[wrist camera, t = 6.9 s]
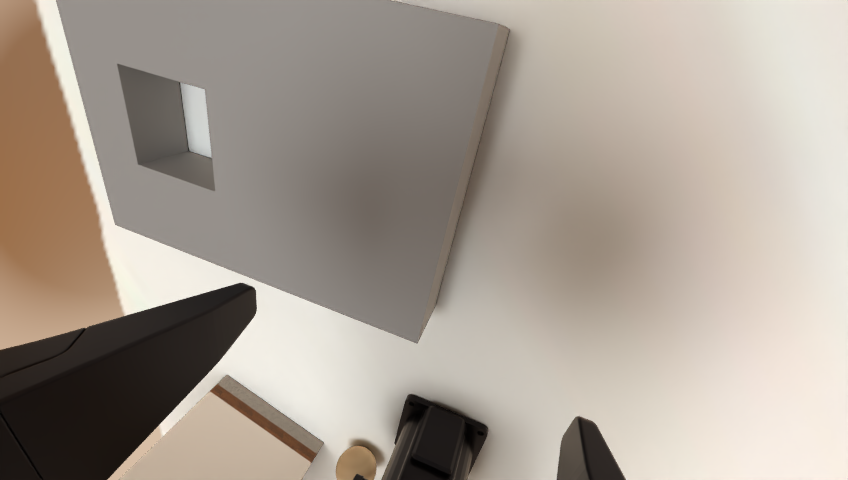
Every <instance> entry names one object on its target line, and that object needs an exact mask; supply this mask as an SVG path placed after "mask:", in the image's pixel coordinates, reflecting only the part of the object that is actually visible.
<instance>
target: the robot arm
mask: <svg viewBox="0 0 848 480" xmlns="http://www.w3.org/2000/svg"><path fill="white" fill-rule="evenodd" d="M256 310H257V304H256V290H255V288H254V287H252V286H249V285H247V284H244V283H238V284H234V285H231V286H228V287H224V288H221V289H217V290H214V291H210V292H207V293H203V294H200V295H196V296H193V297H189V298H186V299H182V300H179V301H176V302H172V303H169V304H165V305H162V306H158V307H155V308H151V309H148V310H144V311H141V312H137V313H134V314H130V315H127V316H123V317H120V318H117V319H113V320H110V321H106V322H103V323H99V324H96V325H92V326H89V327H87V328H81V329H78V330H75V331H71V332H68V333H65V334H61V335H57V336H53V337H50V338H46V339H42V340H39V341H35V342H31V343H27V344H23V345H19V346H14V347H10V348H6V349H3V350H0V480H107V479H108V478H109V477H110V476H111V475H112V474H113V473H114V472H115V471H116V470H117V468H119V467H120V466H121V464H122V463H123V462H124V461H125V460H126V459H127V458H128V457H129V456H130V455H131V454H132V453H133V452H134V451H135V450H136V449H137V448H138V446H139V445H140V444H141V443H142V442H143V441H144V440H145V439H146V438H147V437H148V436H149V435H150V434H151V433H152V432H153V431H154V429H156V428H157V427H158V426H159V424H160V423H161V422H162V421H163V420H164V419H165V418H166V417H167V416H168V415H169V414H170V413H171V412H172V411H173V410H174V409H175V408H176V407H177V405H178V404H179V403H180V402H181V401H182V400H183V399H184V398H185V397H186V396H187V395H188V394H189V393H190V392H191V391H192V390H193V389H194V388H195V386H196V385H197V384H198V383H199V382H200V381H201V380H202V379H203V378H204V377H205V376H206V375H207V374H208V373H209V372H210V371H211V370H212V369H213V367H214V366H215V365H216V364H217V363H218V362H219V361H220V360H221V358H222V357H223V356H224V355H225V354H226V352H227V351H228V350H229V348H230V347H231V346H232V345H233V343H234V342H235V341H236V339H237V338H238V337H239V336H240V334H241V333H242V332H243V330H244V329H245V328H246V327H247V325H248V324H249V323H250V321H251V320H252V319H253V317H254V316H255V314H256ZM487 434H488V428H487V427H486V426H485V425H483V424H481V423H478V422H476V421H474V420H471V419H469V418H466V417H464V416H462V415H459V414H457V413H455V412H452V411H450V410H447V409H445V408H443V407H440V406H438V405H436V404H433V403H431V402H428V401H426V400H424V399H421V398H419V397H417V396H414V395H408V396H407V398H406V401H405V404H404V408H403V412H402V416H401V419H400V423H399V427H398V431H397V435H396V439H395V445H396V446H395V448H394V451H393V453H392V455H391V458H390V460H389V463H388V465H387V468H386V470H385V472H384V475H383V477H382V480H467V478H468V475H469V473H470V471H471V469H472V467H473V465H474V463H475V460H476V458H477V456H478V454H479V452H480V450H481V448H482V446H483V444H484V441H485V439H486V437H487ZM353 480H368V479H365V478H364V476H362V475H360V474H356V475H355V477H354V478H353ZM557 480H626V479H625V477H624V475H623V473H622V472H621V470H620V468H619V466H618V464H617V462H616V460H615V459H614V457H613V455H612V453H611V451H610V449H609V447H608V446H607V444H606V442H605V440H604V438H603V436H602V434H601V433H600V431H599V429H598V427H597V425H596V424H595V423H594V422H592V421H590V420H588V419H585V418H583V417H580V416H577V417H575V418H574V420H573V421H572V423H571V424H570V426H569V428H568V429H567V431H566V432H565V434H564V435H563V438H562V441H561V447H560V456H559V464H558V473H557Z"/></svg>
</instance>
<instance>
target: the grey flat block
mask: <svg viewBox="0 0 848 480" xmlns="http://www.w3.org/2000/svg"><path fill="white" fill-rule="evenodd" d="M56 2H57V6H58V10H59V13H60V17H61V21H62V25H63V29H64V32H65V36H66V40H67V44H68V48H69V51H70V55H71V59H72V63H73V67H74V70H75V74H76V78H77V82H78V86H79V89H80V93H81V97H82V101H83V105H84V108H85V112H86V116H87V120H88V123H89V127H90V131H91V135H92V139H93V142H94V146H95V150H96V154H97V158H98V161H99V165H100V169H101V173H102V177H103V180H104V184H105V188H106V192H107V196H108V199H109V203H110V207H111V211H112V215H113V218H114V222H115V225H117V226H120V227H122V228H125V229H127V230H130V231H132V232H135V233H137V234H140V235H143V236H145V237H148V238H150V239H153V240H155V241H158V242H160V243H163V244H165V245H168V246H171V247H173V248H176V249H178V250H181V251H183V252H186V253H188V254H191V255H193V256H196V257H198V258H201V259H204V260H206V261H209V262H211V263H214V264H216V265H219V266H221V267H224V268H226V269H229V270H232V271H234V272H237V273H239V274H242V275H244V276H247V277H249V278H252V279H254V280H257V281H259V282H262V283H265V284H267V285H270V286H272V287H275V288H277V289H280V290H282V291H285V292H287V293H290V294H293V295H295V296H298V297H300V298H303V299H305V300H308V301H310V302H313V303H315V304H318V305H320V306H323V307H326V308H328V309H331V310H333V311H336V312H338V313H341V314H343V315H346V316H348V317H351V318H354V319H356V320H359V321H361V322H364V323H366V324H369V325H371V326H374V327H376V328H379V329H381V330H384V331H387V332H389V333H392V334H394V335H397V336H399V337H402V338H404V339H407V340H409V341H412V342H415V343H418V341H419V339H420V337H421V335H422V333H423V331H424V329H425V327H426V325H427V322H428V320H429V318H430V316H431V314H432V312H433V310H434V308H435V305H436V301H437V297H438V294H439V290H440V286H441V283H442V279H443V275H444V272H445V268H446V264H447V260H448V257H449V253H450V249H451V246H452V242H453V238H454V235H455V231H456V227H457V223H458V220H459V216H460V212H461V209H462V205H463V201H464V198H465V194H466V190H467V186H468V183H469V179H470V175H471V172H472V168H473V164H474V161H475V157H476V153H477V150H478V146H479V142H480V138H481V135H482V131H483V127H484V124H485V120H486V116H487V113H488V109H489V105H490V101H491V98H492V94H493V90H494V87H495V83H496V79H497V76H498V72H499V68H500V65H501V61H502V57H503V53H504V50H505V46H506V42H507V39H508V35H509V31H510V29H509V28H507V27H504V26H502V25H500V24H497V23H492V22H488V21H483V20H479V19H474V18H469V17H465V16H460V15H455V14H451V13H446V12H442V11H437V10H432V9H428V8H423V7H419V6H414V5H409V4H405V3H400V2H395V1H391V0H56ZM179 82H182V83H185V84H189V85H192V86H196V87H199V88H202V89H205V94H206V104H207V114H208V124H209V133H210V143H211V153H212V159H211V158H208V157H205V156H202V155H199V154H196V153H193V152H190V151H188V144H187V137H186V129H185V122H184V114H183V107H182V99H181V92H180V85H179Z"/></svg>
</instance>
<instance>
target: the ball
mask: <svg viewBox="0 0 848 480" xmlns="http://www.w3.org/2000/svg"><path fill="white" fill-rule="evenodd" d="M356 474H360V475H362V476H364V478H365V479H368V480H374V478H375V475H376V460H375V457H374V455H373V454H372V452H371V451H370V450H369V449H367V448H365V447H362V446H354V447H351V448H349V449H347V450H346V451H345V452H344V453H343V454H342V455H341V456H340V458H339V460H338V462H337V466H336V478H337V480H353V478H354V477H355V475H356Z"/></svg>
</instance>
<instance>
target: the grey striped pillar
mask: <svg viewBox="0 0 848 480" xmlns="http://www.w3.org/2000/svg"><path fill="white" fill-rule="evenodd" d="M322 445H323V442H322V441H320V440H319V439H318V438H316V437H315V436H313V435H312V434H311V433H309V432H308V431H306V430H305V429H303V428H302V427H301V426H299V425H298V424H296V423H295V422H293V421H292V420H291V419H289V418H288V417H286V416H285V415H284V414H282V413H281V412H279V411H278V410H276V409H275V408H274V407H272V406H271V405H269V404H268V403H266V402H265V401H264V400H262V399H261V398H259V397H258V396H257V395H255V394H254V393H252V392H251V391H249V390H248V389H247V388H245V387H244V386H242V385H241V384H239V383H238V382H237V381H235V380H234V379H232V378H231V377H230V376H228V375H226V376H225V377H224V378H223V379H222V380H221V381H220V382H219V383H218V384H217V385H216V386H215V387H214V388H212V389H211V390H210V391H209V392H208V393H207V394H206V395H205V396H204V397H203V398H202V399H201V400H200V401H199V402H198V403H197V404H196V405H195V406H194V407H193V408H192V409H191V410H190V411H189V412H188V413H187V414H186V415H185V416H184V417H183V418H182V419H181V420H180V421H179V422H177V423H176V424H175V425H174V426H173V427H172V428H171V429H170V430H169V431H168V432H167V433H166V434H165V435H164V436H163V437H162V438H161V439H160V440H159V441H158V442H157V443H156V444H155V445H154V446H153V447H152V448H151V449H150V450H149V451H148V452H147V453H146V454H145V455H144V456H143V457H141V459H139V461H138V462H136V463H135V464H134V465H133V466H132V467H131V468H130V469H129V470H128V471H127V472H126V473H125V474H124V475H123V476H122V477H121V478H120V479H119V480H302V478H303V476H304V475H305V473H306V471H307V470H308V468H309V466H310V465H311V463H312V461H313V460H314V458H315V457H316V455H317V453H318V452H319V450H320V448H321V447H322Z"/></svg>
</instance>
